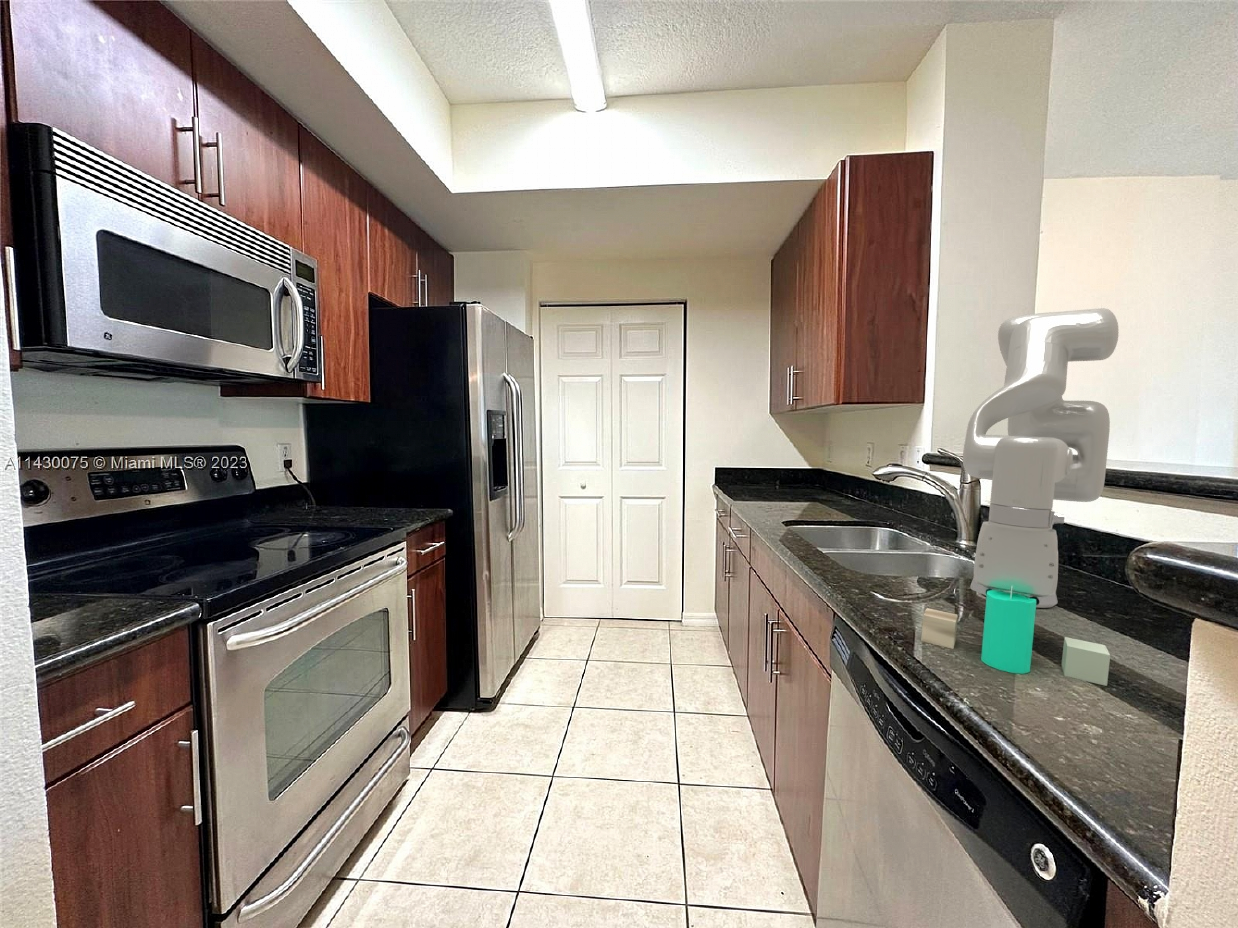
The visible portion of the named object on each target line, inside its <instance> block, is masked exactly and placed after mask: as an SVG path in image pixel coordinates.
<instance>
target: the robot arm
mask: <svg viewBox="0 0 1238 928" xmlns="http://www.w3.org/2000/svg"><path fill="white" fill-rule="evenodd" d="M997 333H998V334H997V339H998V345H999V350H1000V353H1001V356H1002V359H1003V361H1004V363H1005V365H1006V370H1005V375H1004V385H1003V386H1002V387H1001V388H999V389H998V390H996V391H995V392H994V393H992V394H991V395H989V396H988V397H987V398H985V399H984V401H982V402H981V404H979V405H978V406H977V408H976V409H975V411H973V413H972V415H971V417H970V419H969V421H968V423H967V427H966V428H967V429H966V432H965V433H966V434H965V439H964V444H963V451H962V466H963V469H964V471H965V473H967V474H968V475H969V476H971V477H974V478H976V479H979V480H980V479H982V480H991V490H990V491H991V492H990V502H989V512H988V521H983V522H982V524H981V527H980V531H979V534H978V538H977V543H976V549H975V556H974V561H973V562H974V563H973V579H972V581H971V583H970V589H971V590H972V591H973V592H975V593H976V592H977V593H979V594H982V595H984V596H986V597H987V591H990V590H997V591H1001V592H1004V593H1005V592H1010V593H1011V586H1013V587H1012V593H1018V594H1020V595H1022V596H1025V597H1027V598H1031V599H1036V609H1038V608H1039V609H1040V608H1041V609H1048V608H1052V607H1055V605H1057V604H1058V602H1059V601H1058V597H1057V589H1058V588H1057V587H1058V580H1059V579H1058V578H1059V577H1058V576H1059V575H1058V574H1059V550H1058V547H1059V545H1058V544H1059V543H1058V535H1057V530H1056V529H1054V528H1053V526H1054V524H1064V523H1065V514H1061V513H1058V512H1055V511H1053V506H1054V505H1053V504H1054V500H1056V501H1064V502H1065V501H1066V502H1076V503H1077V502H1079V503H1080V502H1082V503H1090V502H1095V501H1096V500H1099V498H1100V497H1101V495H1102V493H1103V491H1104V486H1105V480H1106V471H1107V460H1108V450H1109V441H1110V429H1111V428H1110V427H1111V426H1110V425H1111V424H1110V423H1111V421H1110V413H1109V411H1108V409H1107V407H1106V406H1105V404H1103V403H1101V402H1098V401H1094V400H1065V399H1063V396H1064V394H1065V392H1066V389H1067V377H1068V376H1067V375H1068V364H1069V362H1071V363H1072V362H1090V361H1093V362H1094V361H1104V360H1107V359H1109V358H1110V357H1111V356H1112V355H1113V354H1114V351H1115V350H1116V347H1117V345H1118V341H1119V322H1118V319H1117V317H1116V315H1115V314H1114V312H1113V311H1112V310H1111V309H1108V308H1105V307H1103V308H1090V309H1088V308H1087V309H1077V310H1076V309H1075V310H1067V311H1052V312H1051V311H1049V312H1040V313H1028V314H1024V315H1018V316H1013V317H1011V318H1008V319H1006V320H1004V321H1003V322H1002V323H1001V324H1000V326H999V328H998V332H997ZM1006 419H1007V434H1008V435H1005V434H1004V435H1002V434H1001V435H999V434H994V435H993V434H987V432H988V431H989V430H990V428H992V427H993V426H994V425H996V424H997V423H999V422H1002V421H1003V420H1006ZM1072 449H1073V450H1075V451H1076V453H1077V454H1073V450H1072Z"/></svg>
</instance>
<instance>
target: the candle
mask: <svg viewBox="0 0 1238 928" xmlns="http://www.w3.org/2000/svg"><path fill="white" fill-rule="evenodd" d="M1012 587H1013V586H1011V593H1010V592H1005V593H1004V592H1001V591H997V590H990V591H987V596H986V601H985V613H984V623H983V634H982V645H981V656H980V657H981V658H980V659H981V660H980V661H981V662H982V663H984V664H986V665H987V666H989V667H992V668H994V669H997V670H998V671H1002V672H1006V673H1007V672H1008V673H1010V674H1028V673H1030V672H1031V663H1032V654H1033V653H1032V652H1033V641H1034V631H1035V622H1036V621H1035V620H1036V610H1037V608H1036V599H1031V598H1027V597H1025V596H1022V595H1020V594H1018V593H1012Z"/></svg>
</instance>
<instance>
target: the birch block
mask: <svg viewBox="0 0 1238 928" xmlns="http://www.w3.org/2000/svg"><path fill="white" fill-rule="evenodd" d="M958 617H959V614H957V613H951V612H948V611H946V612H945V611H942V610H937V609H932V608H928V607H926V608H925V610H924V613H923V615H922V626H921V637H920V642H923V643H928V644H930V645H931V644H932V645H936V646H940V647H943V648H948V649H950V650H951V649H952V650H953V649H954V648H955V645H956V640H957V627H958V619H959V618H958Z"/></svg>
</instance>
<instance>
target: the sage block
mask: <svg viewBox="0 0 1238 928" xmlns="http://www.w3.org/2000/svg"><path fill="white" fill-rule="evenodd" d="M1063 639H1064V640H1063V647H1062V649H1063V650H1062V656H1061V658H1062V659H1061V668H1062V673H1063V676H1064V677H1068V678H1073V679H1077V680H1080V681H1083V682H1084V681H1085V682H1089V683H1093V684H1098V685H1102V686H1104V687H1105V686H1106V687H1108V681H1109V680H1108V679H1109V670H1110V662H1111V660H1110V659H1111V654H1110V652H1109V650H1108V648H1107V646H1106V645H1105V644H1101V643H1096V642H1091V641H1085V640H1082V639H1076V638H1072V637H1067V636H1064V638H1063Z"/></svg>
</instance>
